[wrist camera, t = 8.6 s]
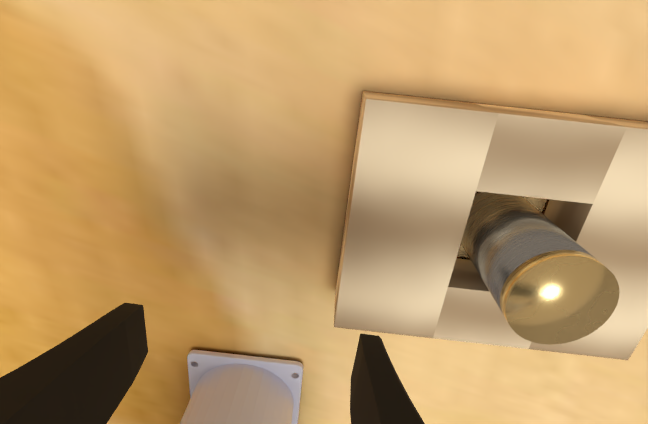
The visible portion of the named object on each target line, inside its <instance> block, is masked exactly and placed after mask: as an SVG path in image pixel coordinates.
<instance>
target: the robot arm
mask: <svg viewBox="0 0 648 424" xmlns="http://www.w3.org/2000/svg"><path fill="white" fill-rule="evenodd" d="M147 353H148V347H147V338H146V329H145V319H144V310H143V305H138V304H130V303H124V304H122V305H120V306H119V307H117V308H115V309H114V310H112V311H111V312H109V313H107V314H106V315H104V316H103V317H101V318H100V319H98V320H97V321H95V322H94V323H92V324H90V325H89V326H87V327H86V328H84V329H83V330H81V331H79V332H78V333H76V334H75V335H73V336H72V337H70V338H68V339H67V340H65V341H64V342H62V343H60V344H59V345H57V346H55V347H54V348H52V349H50V350H49V351H47V352H45V353H43V354H42V355H40V356H38V357H37V358H35V359H33V360H31V361H30V362H28V363H26V364H25V365H23V366H21V367H19V368H18V369H16V370H14V371H12V372H10V373H8V374H6V375H5V376H3V377H1V378H0V424H107V422H108V420H109V419H110V417H111V416H112V414H113V413H114V411H115V410H116V408H117V407H118V405H119V404H120V402H121V400H122V399H123V397H124V396H125V394H126V393H127V391H128V390H129V388H130V386H131V385H132V383H133V381H134V379H135V377H136V376H137V374H138V372H139V370H140V368H141V365H142V363H143V361H144V359H145V357H146V355H147ZM187 362H188V374H189V387H190V401H189V403H188V406H187V408H186V410H185V413H184V415H183V417H182V419H181V422H180V424H298V416H299V406H300V396H301V386H302V376H303V364H302V363H300V362H298V361H291V360H282V359H273V358H264V357H255V356H247V355H238V354H229V353H220V352H211V351H202V350H191V351H190V352H189V354H188V356H187ZM196 362H197V363H196ZM294 373H297V374H294ZM350 413H351V424H425V423H424V422H423V420H422V418H421V417H420V415H419V413H418V412H417V410H416V408H415V407H414V405H413V403H412V401H411V400H410V398H409V396H408V394H407V392H406V390H405V389H404V387H403V385H402V383H401V381H400V379H399V377H398V375H397V373H396V371H395V369H394V367H393V365H392V363H391V361H390V358H389V356H388V354H387V352H386V349H385V347H384V344H383V342H382V339H381V338H380V337H379V336H375V335H367V334H360V338H359V343H358V348H357V352H356V357H355V362H354V366H353V371H352V376H351V397H350Z"/></svg>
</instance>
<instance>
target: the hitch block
mask: <svg viewBox="0 0 648 424" xmlns="http://www.w3.org/2000/svg"><path fill="white" fill-rule="evenodd" d="M476 191H479V192H488V193H497V194H506V195H516V196H525V197H534V198H543V199H550V200H549V203H548V205H547V208H546V210H545V213H544V215H545V216H546V217H547V218H548V219H549V220H551V221H552V222H553V223H554V224H555V225H556V226H558V227H559V228H560V229H561V230H562V231H564V232H565V233H566V234H567V235H568V236H570V237H571V238H572V239H573V240H574V241H576V242H577V243H578V244H579V245H580V246H581V247H583V248H584V249H585V250H586V251H587V252H589V253H590V254H591V255H592V256H593V257H595V258H596V259H597V260H598V261H599V262H601V263H602V264H603V265H604V266H605V267H606V268H608V269H609V270H610V271H611V272H612V273H613V274H614V276H615V277H616V279H617V282H618V285H619V291H620V292H619V300H618V304H617V306H616V308H615V310H614V312H613V314H612V315H611V316H610V318H609V319H608V320H607V321H606V322H605V323H604V324H603V325H602V326H601V327H599V328H598V329H597V330H595V331H594V332H592V333H591V334H589V335H587V336H585V337H583V338H581V339H578V340H575V341H572V342H568V343H563V344H553V345H548V344H538V343H534V342H531V341H528V340H526V339H524V338H522V337H520V336H519V335H518V334H516V333H515V332H514V331H513V330H512V328H511V327H510V325H509V324H508V322H507V320H506V318H505V317H504V315H503V313H502V312H501V310H500V308H499V307H498V305H497V303H496V302H495V300H494V298H493V297H492V295H491V293H490V292H489V290H488V288H487V287H486V285H485V283H484V281H483V280H482V278H481V276H480V275H479V273H478V271H477V270H476V268H475V266H474V265H473V263H472V261H471V260H467V259H458V258H457V254H458V251H459V248H460V244H461V241H462V237H463V234H464V230H465V227H466V224H467V220H468V217H469V213H470V210H471V207H472V203H473V200H474V196H475V193H476ZM334 327H337V328H346V329H355V330H364V331H373V332H382V333H391V334H399V335H408V336H417V337H426V338H435V339H444V340H453V341H462V342H471V343H480V344H488V345H497V346H506V347H515V348H524V349H533V350H542V351H551V352H560V353H569V354H578V355H586V356H595V357H604V358H613V359H622V360H628V359H629V358H630V356H631V355H632V353H633V351H634V350H635V348H636V346H637V345H638V343H639V341H640V340H641V338H642V336H643V335H644V333H645V331H646V330H647V328H648V122H646V121H636V120H627V119H618V118H609V117H599V116H590V115H581V114H572V113H562V112H553V111H544V110H535V109H525V108H516V107H507V106H498V105H489V104H479V103H470V102H461V101H452V100H442V99H433V98H424V97H415V96H405V95H396V94H387V93H378V92H369V91H363V93H362V100H361V108H360V115H359V122H358V130H357V137H356V144H355V152H354V159H353V167H352V174H351V181H350V189H349V196H348V203H347V211H346V218H345V225H344V233H343V240H342V247H341V255H340V262H339V270H338V277H337V284H336V292H335V315H334Z"/></svg>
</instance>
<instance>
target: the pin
mask: <svg viewBox="0 0 648 424" xmlns="http://www.w3.org/2000/svg"><path fill="white" fill-rule="evenodd" d="M461 244H462V246H463V248H464V250H465V251H466V253H467V255H468V256H469V258H470V260H471V261H472V263H473V265H474V266H475V268H476V270H477V271H478V273H479V275H480V276H481V278H482V280H483V281H484V283H485V285H486V287H487V288H488V290H489V292H490V293H491V295H492V297H493V298H494V300H495V302H496V303H497V305H498V307H499V308H500V310H501V312H502V313H503V315H504V317H505V318H506V320H507V322H508V324H509V325H510V327H511V328H512V330H513V331H514V332H515V333H516V334H518V335H519V336H520V337H522V338H524V339H526V340H528V341H531V342H534V343H538V344H548V345H553V344H563V343H568V342H572V341H575V340H578V339H581V338H583V337H585V336H587V335H589V334H591V333H592V332H594V331H595V330H597V329H598V328H599V327H601V326H602V325H603V324H604V323H605V322H606V321H607V320H608V319H609V318H610V316H611V315H612V314H613V312H614V310H615V308H616V306H617V304H618V300H619V292H620V291H619V285H618V282H617V279H616V277H615V276H614V274H613V273H612V272H611V271H610V270H609V269H608V268H606V267H605V266H604V265H603V264H602V263H601V262H599V261H598V260H597V259H596V258H595V257H593V256H592V255H591V254H590V253H589V252H587V251H586V250H585V249H584V248H583V247H581V246H580V245H579V244H578V243H577V242H576V241H574V240H573V239H572V238H571V237H570V236H568V235H567V234H566V233H565V232H564V231H562V230H561V229H560V228H559V227H558V226H556V225H555V224H554V223H553V222H552V221H551V220H549V219H548V218H547V217H546V216H545V215H543V214H542V213H541V212H540V211H539V210H537V209H536V208H535V207H534V206H533V205H531V204H530V203H529V202H528V201H527V200H525V199H524V198H523V197H522V196H516V195H506V194H497V193H488V192H479V193H477V194H476V195H475V196H474V200H473V203H472V207H471V210H470V213H469V217H468V220H467V224H466V227H465V230H464V234H463V237H462V241H461Z"/></svg>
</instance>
